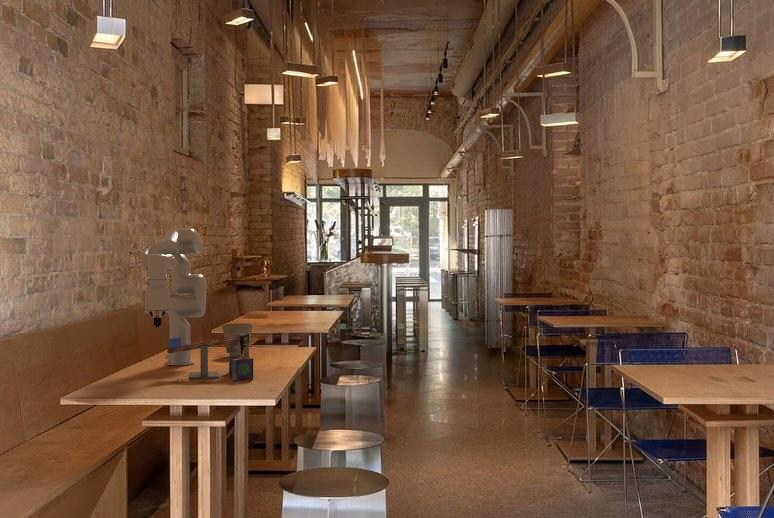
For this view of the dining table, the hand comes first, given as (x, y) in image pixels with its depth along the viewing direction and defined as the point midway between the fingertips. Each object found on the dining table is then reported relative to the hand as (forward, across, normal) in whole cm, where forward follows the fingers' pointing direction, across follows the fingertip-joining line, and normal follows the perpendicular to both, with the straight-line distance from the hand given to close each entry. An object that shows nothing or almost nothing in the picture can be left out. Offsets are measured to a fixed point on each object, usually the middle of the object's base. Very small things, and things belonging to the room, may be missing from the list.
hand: (157, 327), depth 353 cm
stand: (+22, +23, +1) cm, 32 cm away
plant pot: (+21, +36, +63) cm, 76 cm away
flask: (+22, +35, -12) cm, 43 cm away
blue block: (+10, +8, +1) cm, 12 cm away
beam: (+13, +20, +1) cm, 23 cm away
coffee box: (+22, +35, +15) cm, 43 cm away
